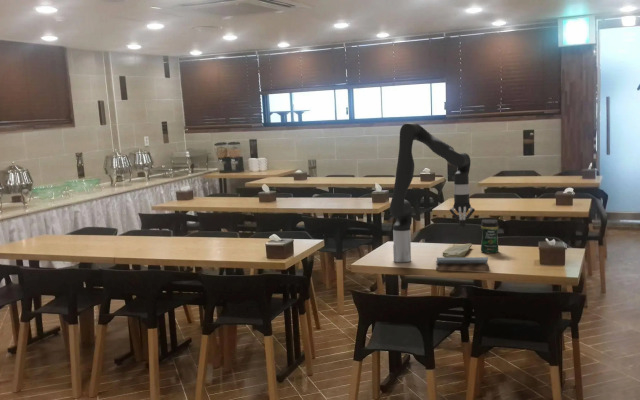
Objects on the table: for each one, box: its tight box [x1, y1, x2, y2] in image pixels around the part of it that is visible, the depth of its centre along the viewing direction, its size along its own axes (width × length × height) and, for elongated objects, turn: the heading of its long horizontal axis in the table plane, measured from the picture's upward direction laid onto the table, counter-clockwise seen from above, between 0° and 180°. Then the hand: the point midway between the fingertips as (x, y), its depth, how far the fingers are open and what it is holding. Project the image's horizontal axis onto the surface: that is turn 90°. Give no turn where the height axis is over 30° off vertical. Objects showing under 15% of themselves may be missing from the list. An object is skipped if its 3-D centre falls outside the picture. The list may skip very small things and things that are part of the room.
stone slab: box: [442, 243, 473, 258], centre depth 349 cm, size 12×4×30 cm
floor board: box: [435, 260, 490, 272], centre depth 316 cm, size 26×16×3 cm, turn 80°
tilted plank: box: [436, 256, 489, 264], centre depth 313 cm, size 25×8×1 cm, turn 80°
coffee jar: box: [480, 219, 500, 254], centre depth 347 cm, size 10×8×19 cm
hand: (462, 227), depth 310 cm, fingers closed
